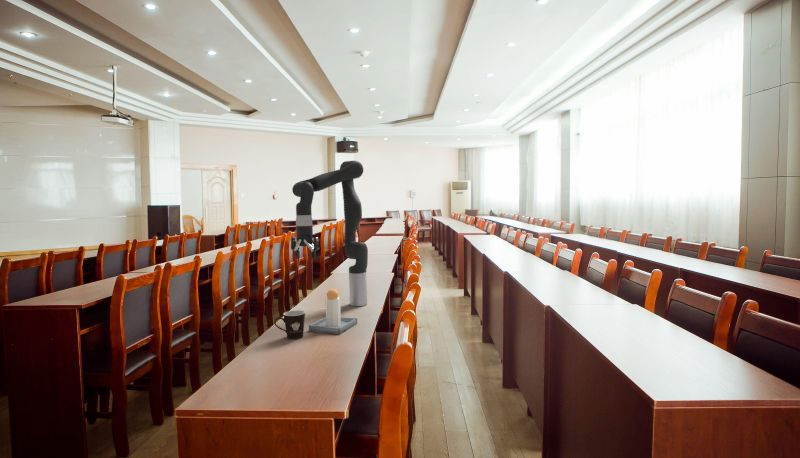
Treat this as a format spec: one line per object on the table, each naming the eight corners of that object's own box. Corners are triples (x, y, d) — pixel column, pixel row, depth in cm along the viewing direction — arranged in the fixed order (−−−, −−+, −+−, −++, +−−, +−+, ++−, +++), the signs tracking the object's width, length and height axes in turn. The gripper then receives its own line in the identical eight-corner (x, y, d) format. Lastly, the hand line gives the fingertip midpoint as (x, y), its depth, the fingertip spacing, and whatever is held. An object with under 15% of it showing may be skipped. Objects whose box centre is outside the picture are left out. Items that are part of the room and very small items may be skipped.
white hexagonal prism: (331, 322, 197) (330, 296, 196) (342, 323, 195) (342, 297, 194) (324, 326, 192) (323, 299, 191) (336, 327, 190) (335, 300, 189)
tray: (328, 320, 204) (328, 315, 204) (357, 323, 198) (357, 318, 198) (309, 331, 189) (308, 325, 189) (339, 334, 183) (339, 328, 183)
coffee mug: (308, 333, 185) (307, 310, 184) (302, 340, 177) (301, 316, 176) (281, 333, 186) (280, 310, 185) (274, 340, 178) (272, 315, 177)
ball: (330, 298, 196) (330, 287, 196) (340, 299, 194) (340, 288, 194) (324, 301, 191) (324, 289, 191) (334, 302, 189) (334, 290, 189)
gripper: (321, 224, 208) (322, 258, 209) (296, 224, 213) (297, 257, 214) (312, 225, 201) (314, 260, 202) (286, 225, 206) (288, 259, 207)
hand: (305, 259), depth 208 cm, fingers open, 8 cm apart
